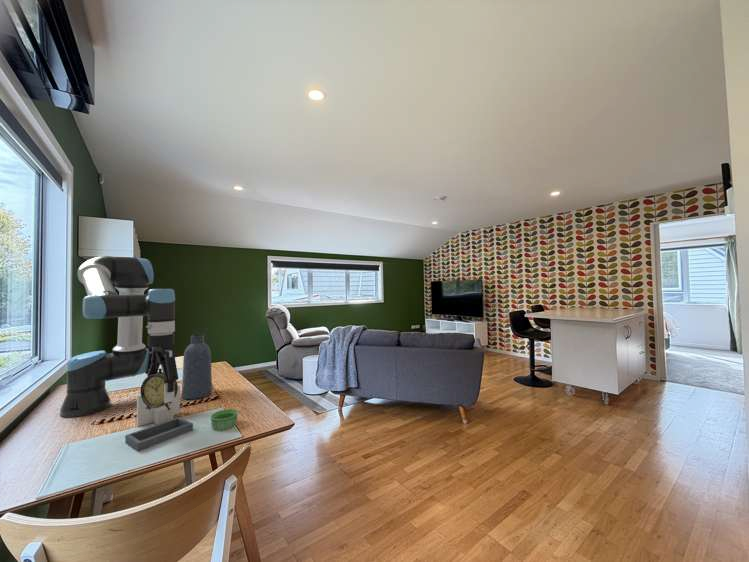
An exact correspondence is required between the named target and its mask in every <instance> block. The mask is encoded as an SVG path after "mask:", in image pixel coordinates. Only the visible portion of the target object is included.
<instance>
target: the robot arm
mask: <svg viewBox="0 0 749 562" xmlns="http://www.w3.org/2000/svg"><path fill="white" fill-rule="evenodd" d="M76 274H77V279H78V280H79V282H80V283H81V284H83V286H84V288H85V292H86V294H87V295H86V296H84V297H83V299H82V316H83V317H84V318H85V319H88V320H89V319H97V320H100V319H101V320H102V319H111V318H118V319H117V321H118V322H117V342H116V343H117V344H116V345H115V346H114V347H113V348H112V352H110V353H109V352H108V353H107V352H106V350H98V351H90V352H89V351H88V352H86V353H81V354H77V355H75V356H73V357H71V358H69V360H67V364H66V365H67V366H66V372H67V373H66V375H67V377H66V378H67V379H66V395H65V398H64V400H63V402H62V404H61V407H60V409H59V416H60V417H62V418H74V417H82V416H86V415H90V414H94V413H97V412H101V411H103V410H106V409H108V408H109V407H110V406H111V397H110V395H109V393H108V391H107V388H106V382H108V381H109V382H110V381H113V380H114V381H115V380H119V379H124V378H131V377H136V376H139V375H143V374H145V375H146V377H148V376H150V375H153V374H157V373H159V370H158V369H160V366H161V369H162V372H163V373H164V377H165V381H164V382H163V383H164V403H168V402H171V401H174V381H175V380H176V381H177V380H179V373H178V368H177V362H176V351H175V349H172V350H171V349H170V346H172V345H175V341H176V340H175V338H176V337H175V336H176V334H175V333H174V332H176V329H175V328H176V324H175V322H176V320H175V315H176V313H175V311H176V293H175V290H174V289H173V288H152V289H149V285H151V284H153V283H154V270H153V265H152V262H151V261H150V260H149V259H147V258H142V257H141V258H140V257H134V256H133V257H132V256H131V257H129V256H127V257H126V256H109V255H101V256H97V257H93V258H90V259H88V260H86V261H85V262H83V263H82V264H81V265H80V266H79V267H78V269H77V272H76ZM113 284H114V285H113ZM116 290H117V291H118V292H119V293H117V291H116ZM146 290H148V291H147V294H145V291H146ZM144 316H147V325H146V326H145V328H146V329H147V334H148V335H147V346H148V348H146V344H144V343H143V326H144V325H143V319H144ZM157 361H158V363H157ZM156 363H157V368H158V369H157V368H156Z"/></svg>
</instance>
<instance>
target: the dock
mask: <svg viewBox="0 0 749 562" xmlns="http://www.w3.org/2000/svg"><path fill="white" fill-rule="evenodd" d="M192 431H194V422H191V421H189V420H186V419H184V418H182V417H180V416H178V417H175V418H173V419H172V420H169V421H166V422H163V423H160V424H155V425H151V426H148V427H146V428H143V429H139V430H136V431H134V432H131V433H127V434H126V435H124V436H125V439H124V440H125V443H124V444H126V445H127V446H129V447H130V448H132V449H133V450H135V451H137V452H139V453H140V452H142V451H144V450H146V449H149V448H151V447H154V446H157V445H159V444H162V443H164V442H167V441H170V440H173V439H175V438H177V437H181V436H183V435H185V434H187V433H190V432H192Z"/></svg>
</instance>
